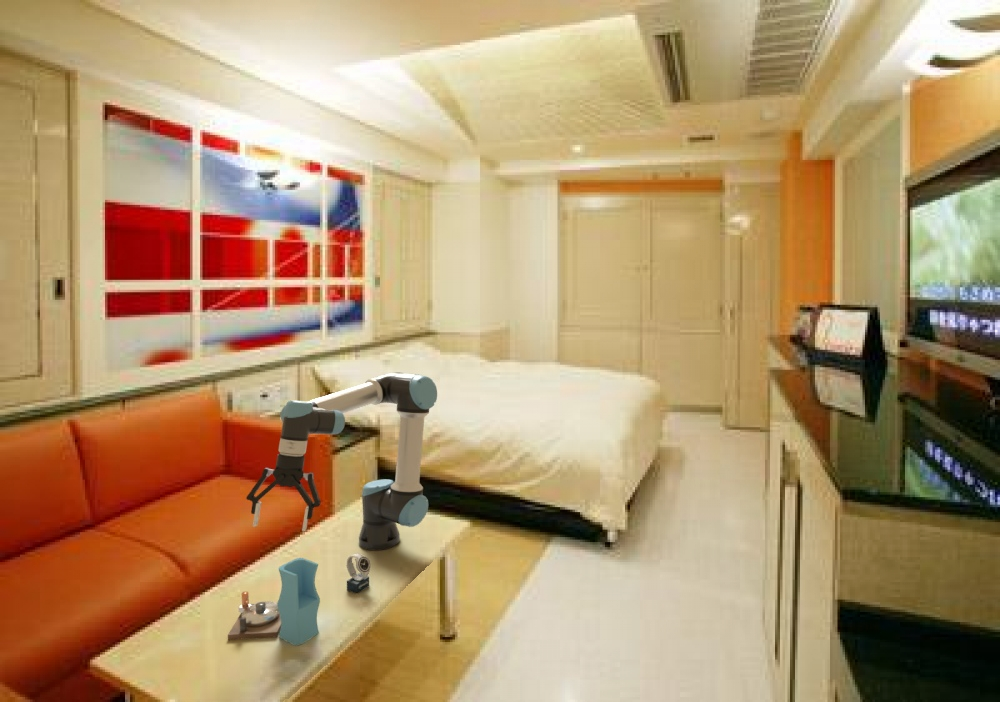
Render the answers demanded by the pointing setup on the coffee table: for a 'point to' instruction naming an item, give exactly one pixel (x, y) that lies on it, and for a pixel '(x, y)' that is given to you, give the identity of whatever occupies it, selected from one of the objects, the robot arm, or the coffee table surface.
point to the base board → (254, 629)
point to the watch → (358, 580)
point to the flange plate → (260, 617)
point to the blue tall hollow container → (298, 601)
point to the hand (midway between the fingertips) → (279, 528)
